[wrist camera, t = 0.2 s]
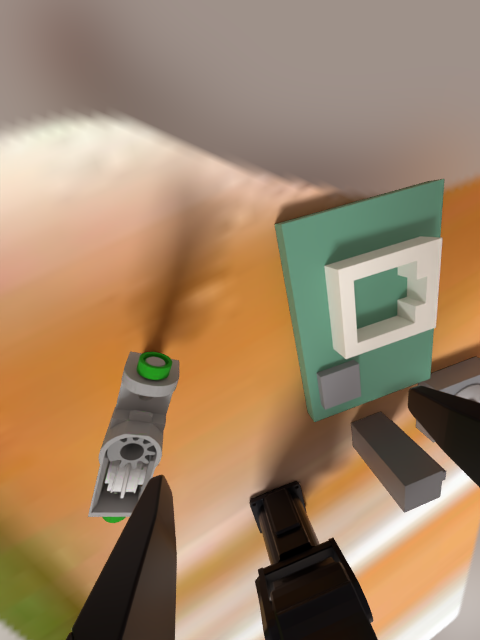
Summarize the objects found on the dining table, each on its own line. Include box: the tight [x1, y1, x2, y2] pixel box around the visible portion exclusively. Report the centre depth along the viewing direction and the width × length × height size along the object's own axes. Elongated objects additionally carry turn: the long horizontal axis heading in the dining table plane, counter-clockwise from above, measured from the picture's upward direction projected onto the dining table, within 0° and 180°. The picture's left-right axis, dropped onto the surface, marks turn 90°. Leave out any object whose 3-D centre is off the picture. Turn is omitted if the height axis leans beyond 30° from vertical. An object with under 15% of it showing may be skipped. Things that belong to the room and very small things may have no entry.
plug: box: [351, 412, 446, 513], centre depth 28 cm, size 4×5×8 cm
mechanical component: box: [88, 352, 179, 523], centre depth 18 cm, size 3×10×10 cm, turn 161°
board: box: [275, 179, 444, 422], centre depth 24 cm, size 20×14×4 cm
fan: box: [416, 357, 480, 442], centre depth 31 cm, size 8×8×3 cm
